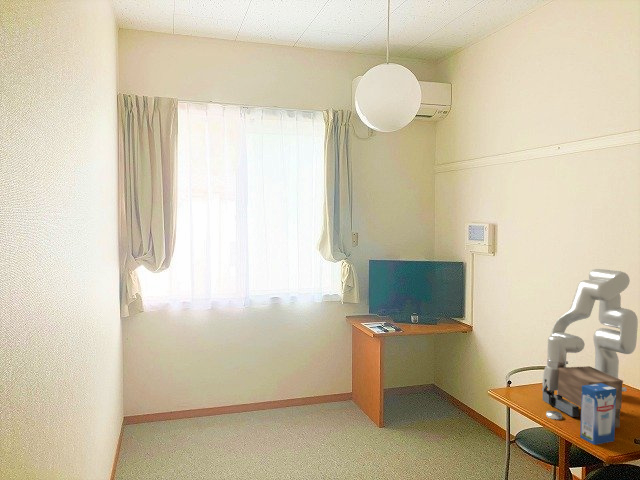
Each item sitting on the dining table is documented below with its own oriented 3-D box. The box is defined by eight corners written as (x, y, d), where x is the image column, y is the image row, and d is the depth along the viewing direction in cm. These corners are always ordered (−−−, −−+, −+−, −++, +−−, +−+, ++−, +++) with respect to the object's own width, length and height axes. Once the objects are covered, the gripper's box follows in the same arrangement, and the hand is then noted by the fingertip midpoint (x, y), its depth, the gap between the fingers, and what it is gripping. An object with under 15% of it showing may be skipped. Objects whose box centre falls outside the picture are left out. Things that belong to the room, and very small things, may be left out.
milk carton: (600, 433, 186) (601, 383, 185) (614, 441, 180) (616, 388, 179) (580, 437, 183) (581, 385, 182) (594, 444, 177) (595, 391, 176)
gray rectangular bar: (548, 399, 220) (548, 391, 220) (578, 416, 201) (578, 406, 201) (542, 400, 220) (542, 391, 220) (572, 416, 200) (572, 407, 200)
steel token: (554, 413, 205) (554, 410, 205) (565, 419, 199) (565, 415, 199) (542, 415, 204) (543, 411, 204) (553, 421, 198) (553, 417, 198)
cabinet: (588, 409, 210) (589, 366, 209) (621, 427, 192) (622, 380, 191) (556, 411, 207) (558, 367, 207) (587, 429, 189) (589, 382, 188)
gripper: (567, 360, 217) (566, 400, 218) (534, 362, 215) (533, 402, 216) (579, 365, 210) (577, 407, 211) (545, 367, 207) (543, 409, 208)
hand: (555, 404), depth 213 cm, fingers closed on gray rectangular bar, 2 cm apart
